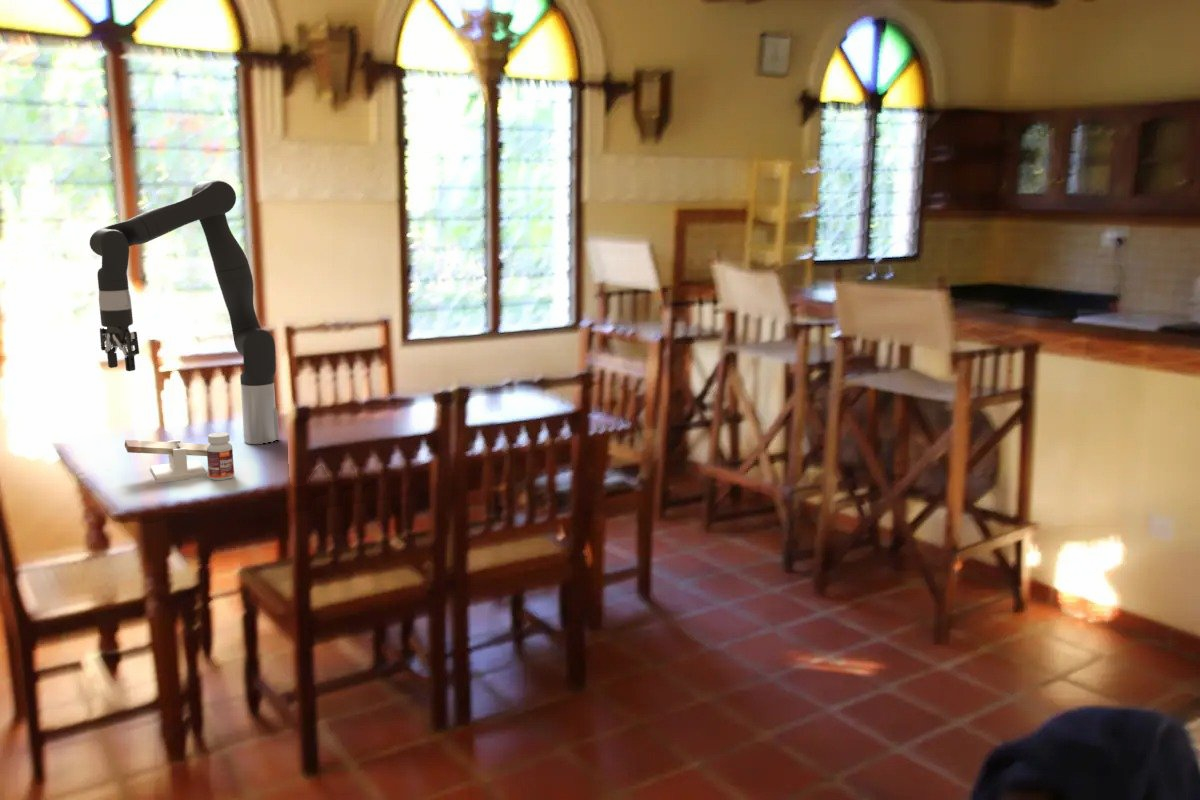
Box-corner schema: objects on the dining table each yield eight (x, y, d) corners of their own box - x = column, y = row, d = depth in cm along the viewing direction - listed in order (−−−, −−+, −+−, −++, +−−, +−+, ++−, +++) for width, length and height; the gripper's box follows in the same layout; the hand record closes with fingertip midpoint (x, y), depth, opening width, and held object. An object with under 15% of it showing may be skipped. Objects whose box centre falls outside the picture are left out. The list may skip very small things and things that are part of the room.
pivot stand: (198, 463, 282) (196, 436, 280) (207, 476, 270) (205, 448, 268) (150, 469, 276) (148, 441, 274) (157, 482, 264) (155, 453, 263)
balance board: (221, 450, 281) (222, 444, 281) (227, 458, 274) (228, 451, 274) (124, 445, 269) (125, 439, 269) (127, 453, 262) (128, 446, 262)
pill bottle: (224, 481, 265) (221, 438, 263) (203, 479, 267) (200, 436, 265) (239, 475, 271) (236, 432, 269) (219, 473, 273) (216, 430, 271)
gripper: (144, 307, 270) (150, 369, 274) (114, 303, 279) (120, 364, 282) (116, 311, 265) (122, 374, 268) (87, 306, 273) (93, 368, 276)
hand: (121, 369), depth 275 cm, fingers open, 8 cm apart
